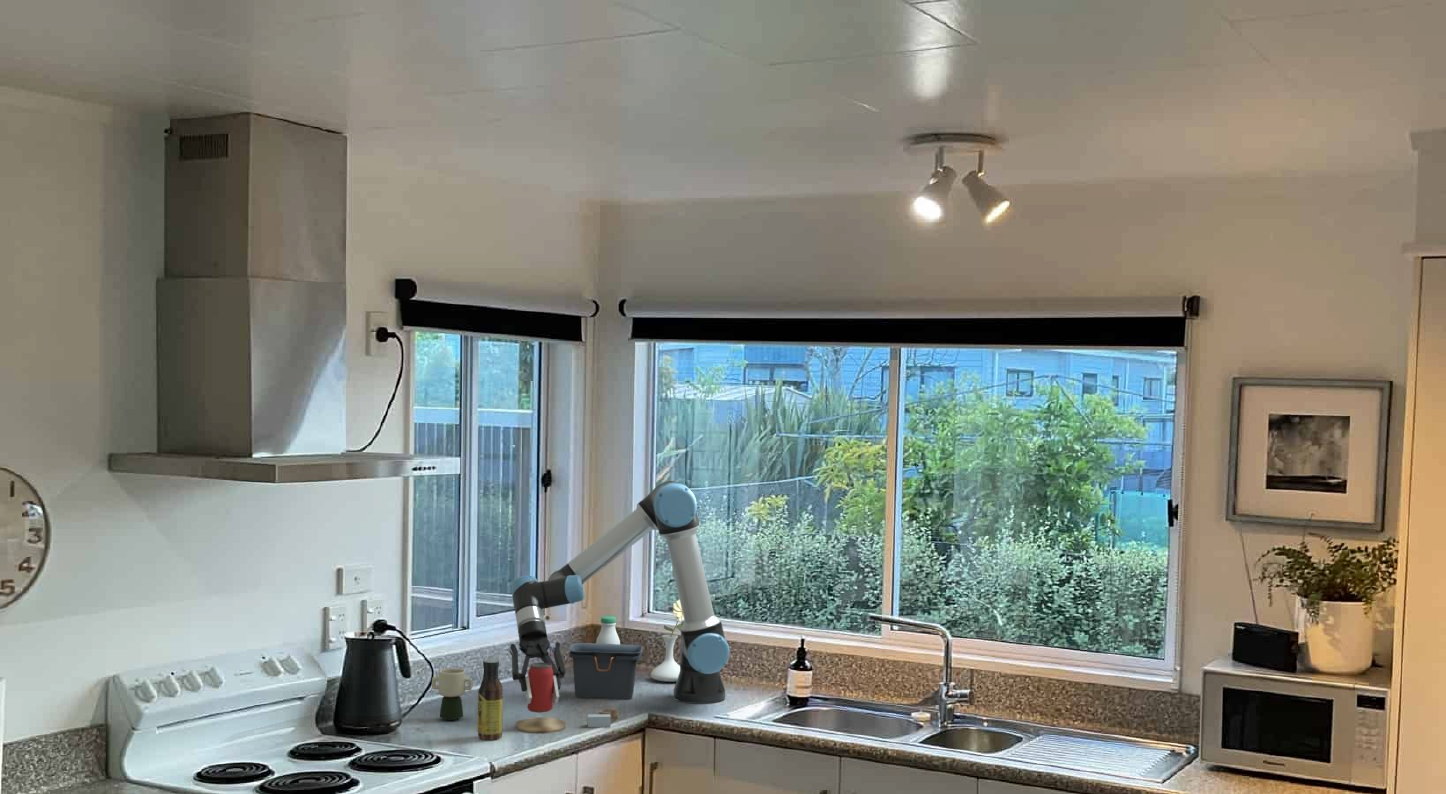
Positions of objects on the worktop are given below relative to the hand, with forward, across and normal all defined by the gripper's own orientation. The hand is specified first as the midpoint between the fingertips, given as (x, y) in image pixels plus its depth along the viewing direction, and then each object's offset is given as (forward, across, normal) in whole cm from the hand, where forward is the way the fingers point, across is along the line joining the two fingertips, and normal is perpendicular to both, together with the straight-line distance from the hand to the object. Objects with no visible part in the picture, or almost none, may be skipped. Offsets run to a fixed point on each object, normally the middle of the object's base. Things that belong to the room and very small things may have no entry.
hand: (543, 699), depth 359 cm
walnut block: (+2, -19, -10) cm, 22 cm away
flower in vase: (-31, -52, -42) cm, 74 cm away
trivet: (+3, 0, -8) cm, 9 cm away
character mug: (-7, +21, -19) cm, 29 cm away
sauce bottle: (+9, +15, -3) cm, 17 cm away
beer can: (0, 0, -5) cm, 5 cm away
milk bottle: (-32, -32, -44) cm, 63 cm away
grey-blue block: (+5, -15, -6) cm, 17 cm away
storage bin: (-19, -26, -30) cm, 44 cm away
